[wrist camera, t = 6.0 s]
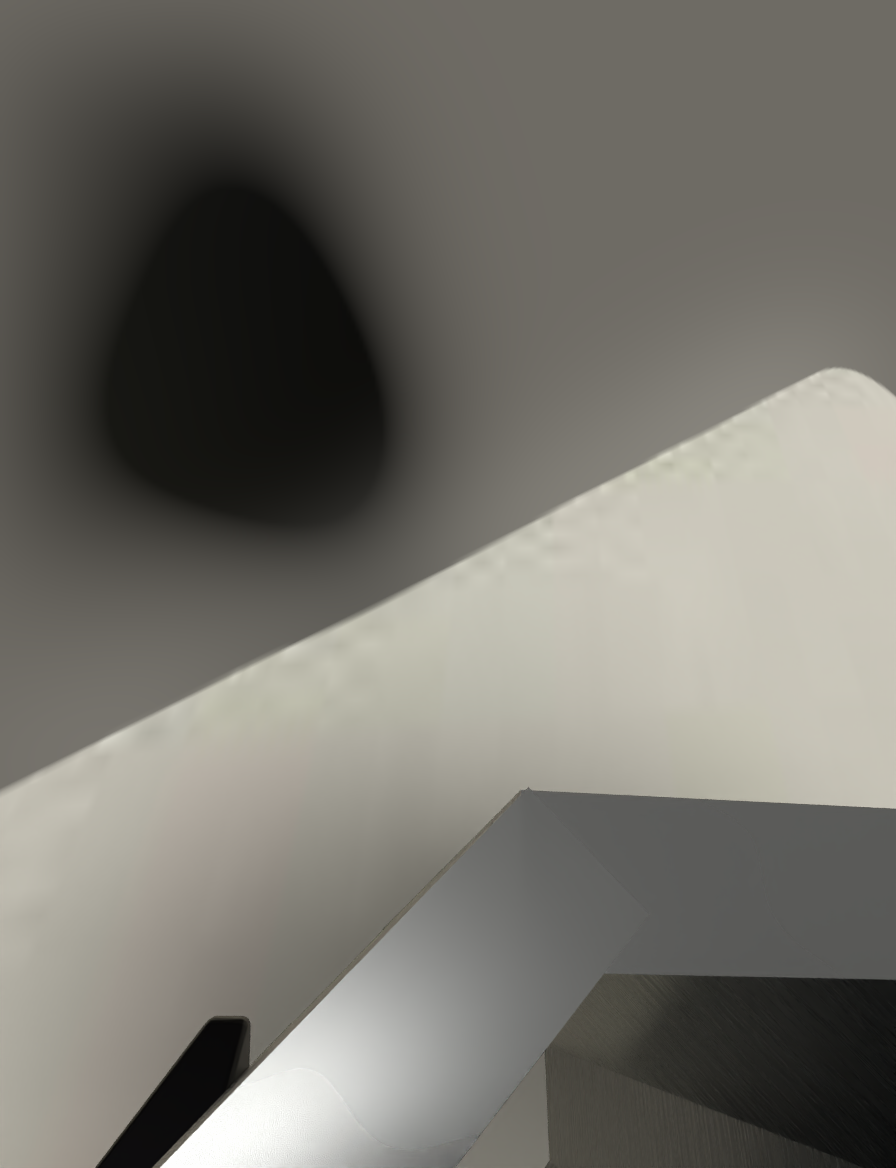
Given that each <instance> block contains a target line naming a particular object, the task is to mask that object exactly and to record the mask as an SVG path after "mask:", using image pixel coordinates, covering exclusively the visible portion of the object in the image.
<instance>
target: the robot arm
mask: <svg viewBox="0 0 896 1168" xmlns="http://www.w3.org/2000/svg"><path fill="white" fill-rule="evenodd" d="M249 1054H250V1021H249V1019H248V1018H247V1017H244V1016H215V1017H213V1018H211V1019H209V1020H208V1021H207V1022H206V1023H205V1025H204V1026H203V1027H202V1028H201V1030H200V1031H199V1032H198V1034H197V1035H196V1036H195V1038H194V1039H193V1040H192V1042H191V1043H190V1044H189V1045H188V1047H187V1048H186V1049H185V1051H184V1052H183V1053H182V1055H181V1056H180V1057H179V1059H178V1060H177V1061H176V1063H175V1064H174V1065H173V1066H172V1068H171V1069H170V1070H169V1072H168V1073H167V1074H166V1076H165V1077H164V1078H163V1080H162V1081H161V1082H160V1083H159V1085H158V1086H157V1087H156V1089H155V1090H154V1091H153V1093H152V1094H151V1095H150V1097H149V1098H148V1099H147V1100H146V1102H145V1103H144V1104H143V1106H142V1107H141V1108H140V1110H139V1111H138V1112H137V1114H136V1115H135V1116H134V1118H133V1119H132V1120H131V1121H130V1123H129V1124H128V1125H127V1127H126V1128H125V1129H124V1131H123V1132H122V1133H121V1135H120V1136H119V1137H118V1138H117V1140H116V1141H115V1142H114V1144H113V1145H112V1146H111V1148H110V1149H109V1150H108V1152H107V1153H106V1154H105V1156H104V1157H103V1158H102V1159H101V1161H100V1162H99V1163H98V1165H97V1166H96V1167H95V1168H152V1167H153V1166H154V1165H155V1164H156V1163H157V1162H158V1161H159V1160H160V1159H161V1158H162V1157H163V1156H164V1155H165V1154H166V1153H167V1152H168V1151H169V1150H170V1149H171V1148H172V1146H173V1145H174V1144H175V1143H176V1142H177V1141H178V1140H179V1139H180V1138H181V1137H182V1136H183V1135H184V1134H185V1133H186V1132H187V1131H188V1130H189V1129H190V1128H191V1127H192V1126H193V1125H194V1124H195V1123H196V1122H197V1121H198V1119H199V1118H200V1117H201V1116H202V1115H203V1114H204V1113H205V1112H206V1111H207V1110H208V1109H209V1108H210V1107H211V1106H212V1105H213V1104H214V1103H215V1102H216V1101H217V1100H218V1099H219V1098H220V1097H221V1096H222V1095H223V1094H224V1092H225V1091H226V1090H227V1089H228V1088H229V1087H230V1086H231V1085H232V1084H233V1083H234V1082H235V1081H236V1080H237V1079H238V1078H239V1077H240V1076H241V1075H242V1074H243V1073H244V1072H245V1071H246V1070H247V1069H248V1068H249Z"/></svg>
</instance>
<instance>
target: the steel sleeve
mask: <svg viewBox="0 0 896 1168" xmlns="http://www.w3.org/2000/svg"><path fill="white" fill-rule="evenodd" d="M544 1051H545V1066H546V1089H547V1112H548V1135H549V1157H550V1161H549V1162H548V1164H547V1165H546V1167H545V1168H896V809H890V808H870V807H849V806H829V805H809V804H789V803H769V802H749V801H729V800H709V799H689V798H669V797H649V796H629V795H609V794H589V793H569V792H549V791H531V790H530V788H529V787H528V788H527V789H526V790H520V791H519V792H518V793H517V794H516V795H515V796H514V797H513V798H512V799H511V800H510V802H509V803H508V804H507V805H506V806H505V807H504V808H503V809H502V810H501V811H500V812H499V813H498V814H497V815H496V816H495V817H494V818H493V819H492V820H491V821H490V822H489V823H488V824H487V825H486V826H485V827H484V828H483V829H482V830H481V831H480V832H479V833H478V834H477V835H476V836H475V837H474V838H473V839H472V840H471V841H470V842H469V843H468V844H467V845H466V846H465V847H464V848H463V849H462V850H461V851H460V852H459V853H458V854H457V855H456V856H455V857H454V858H453V859H452V860H451V861H450V862H449V863H448V864H447V865H446V866H445V867H444V868H443V869H442V870H441V871H440V872H439V873H438V874H437V875H436V876H435V877H434V878H433V879H432V880H431V881H430V882H429V883H428V884H427V885H426V886H425V887H424V888H423V889H422V890H421V891H420V892H419V893H418V894H417V895H416V896H415V897H414V898H413V899H412V900H411V901H410V902H409V903H408V904H407V905H406V906H405V907H404V908H403V909H402V910H401V911H400V912H399V913H398V914H397V915H396V916H395V917H394V918H393V919H392V921H391V922H390V923H389V924H388V925H387V926H386V927H385V928H384V929H383V930H382V932H381V933H380V934H379V935H378V936H377V937H376V938H375V939H374V940H373V941H372V942H371V943H370V944H369V945H368V946H367V947H366V948H365V949H364V950H363V951H362V952H361V953H360V954H359V955H358V956H357V957H356V958H355V959H354V960H353V961H352V962H351V964H350V965H349V966H348V967H347V968H346V969H345V970H344V971H343V972H342V973H341V974H340V975H339V976H338V977H337V978H336V979H335V980H334V981H333V982H332V983H331V984H330V985H329V986H328V987H327V988H326V989H325V990H324V991H323V992H322V993H321V994H320V995H319V996H318V997H317V998H316V999H315V1000H314V1002H313V1003H312V1004H311V1005H310V1006H309V1007H308V1008H307V1009H306V1010H305V1011H304V1012H303V1013H302V1014H301V1015H300V1016H299V1017H298V1018H297V1019H296V1020H295V1021H294V1022H293V1023H291V1024H290V1025H289V1026H288V1027H287V1028H286V1029H285V1030H284V1031H283V1032H282V1033H281V1034H280V1035H279V1036H278V1037H277V1038H276V1040H275V1041H274V1042H273V1043H272V1044H271V1045H270V1046H269V1047H268V1048H267V1049H266V1050H265V1051H264V1052H263V1053H262V1054H261V1055H260V1056H259V1057H258V1058H257V1059H256V1060H255V1061H254V1062H253V1063H252V1064H251V1065H250V1067H249V1068H248V1069H247V1070H246V1071H245V1072H244V1073H243V1074H242V1075H241V1076H240V1077H239V1078H238V1079H237V1080H236V1081H235V1082H234V1083H233V1084H232V1085H231V1086H230V1087H229V1088H228V1089H227V1090H226V1091H225V1092H224V1094H223V1095H222V1096H221V1097H220V1098H219V1099H218V1100H217V1101H216V1102H215V1103H214V1104H213V1105H212V1106H211V1107H210V1108H209V1109H208V1110H207V1111H206V1112H205V1113H204V1114H203V1115H202V1116H201V1117H200V1118H199V1119H198V1121H197V1122H196V1123H195V1124H194V1125H193V1126H192V1127H191V1128H190V1129H189V1130H188V1131H187V1132H186V1133H185V1134H184V1135H183V1136H182V1137H181V1138H180V1139H179V1140H178V1141H177V1142H176V1143H175V1144H174V1145H173V1146H172V1148H171V1149H170V1150H169V1151H168V1152H167V1153H166V1154H165V1155H164V1156H163V1157H162V1158H161V1159H160V1160H159V1161H158V1162H157V1163H156V1164H155V1165H154V1166H153V1167H152V1168H455V1167H456V1166H457V1164H458V1163H459V1162H460V1161H461V1159H462V1158H463V1157H464V1155H465V1154H466V1153H467V1151H468V1150H469V1149H470V1147H471V1146H472V1145H473V1144H474V1142H475V1141H476V1140H477V1138H478V1137H479V1136H480V1134H481V1133H482V1132H483V1131H484V1129H485V1128H486V1127H487V1125H488V1124H489V1123H490V1121H491V1120H492V1119H493V1117H494V1116H495V1115H496V1114H497V1112H498V1111H499V1110H500V1108H501V1107H502V1106H503V1104H504V1103H505V1102H506V1101H507V1099H508V1098H509V1097H510V1095H511V1094H512V1093H513V1091H514V1090H515V1089H516V1087H517V1086H518V1085H519V1084H520V1082H521V1081H522V1080H523V1078H524V1077H525V1076H526V1074H527V1073H528V1072H529V1071H530V1069H531V1068H532V1067H533V1065H534V1064H535V1063H536V1061H537V1060H538V1059H539V1058H540V1056H541V1055H542V1054H543V1052H544Z"/></svg>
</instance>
